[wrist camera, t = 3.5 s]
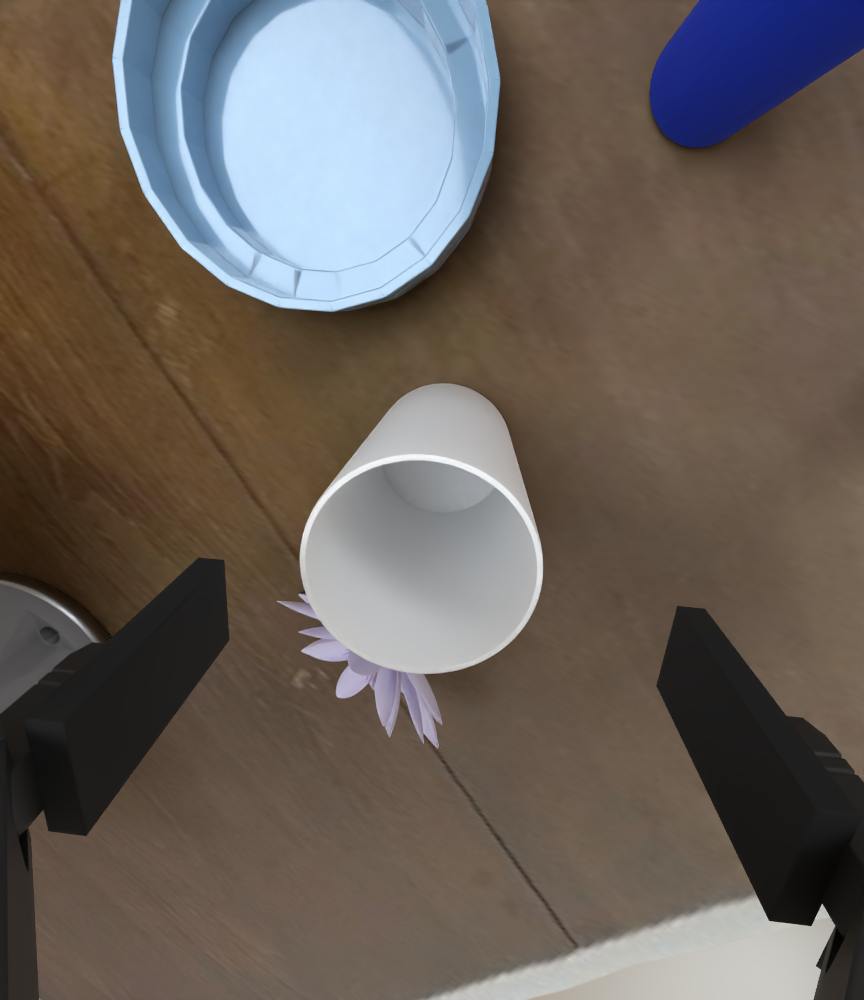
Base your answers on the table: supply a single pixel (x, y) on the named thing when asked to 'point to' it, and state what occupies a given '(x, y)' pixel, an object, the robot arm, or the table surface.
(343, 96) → the bowl
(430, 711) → the water lily
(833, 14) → the beverage can
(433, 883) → the table surface
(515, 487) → the cup
